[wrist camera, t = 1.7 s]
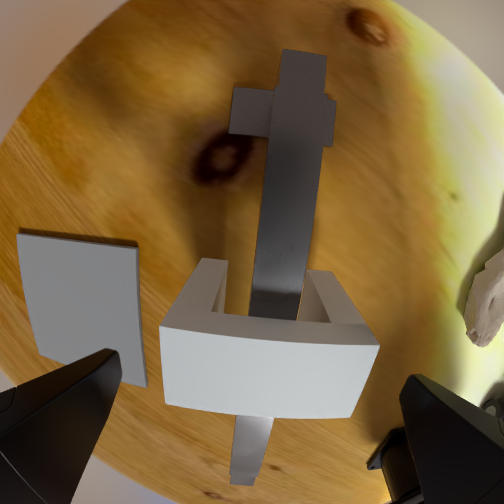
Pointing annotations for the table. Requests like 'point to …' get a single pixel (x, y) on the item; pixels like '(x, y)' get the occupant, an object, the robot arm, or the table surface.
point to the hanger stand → (281, 208)
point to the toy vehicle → (495, 408)
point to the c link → (265, 351)
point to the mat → (84, 300)
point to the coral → (486, 302)
